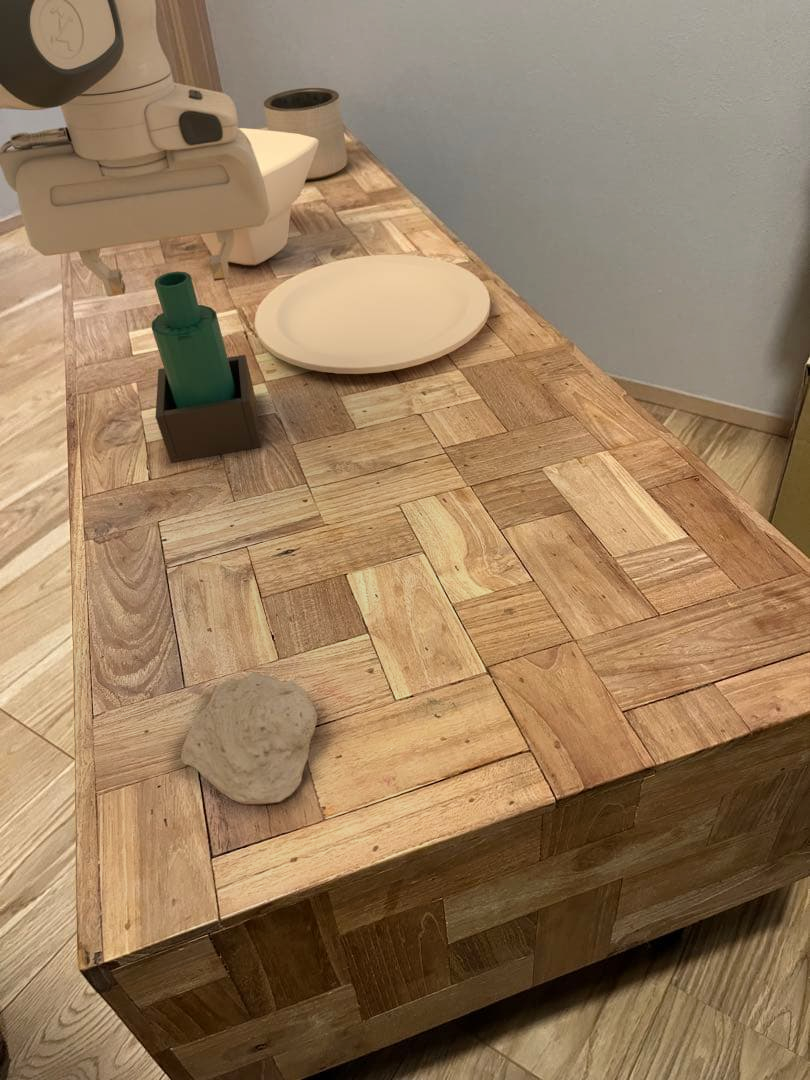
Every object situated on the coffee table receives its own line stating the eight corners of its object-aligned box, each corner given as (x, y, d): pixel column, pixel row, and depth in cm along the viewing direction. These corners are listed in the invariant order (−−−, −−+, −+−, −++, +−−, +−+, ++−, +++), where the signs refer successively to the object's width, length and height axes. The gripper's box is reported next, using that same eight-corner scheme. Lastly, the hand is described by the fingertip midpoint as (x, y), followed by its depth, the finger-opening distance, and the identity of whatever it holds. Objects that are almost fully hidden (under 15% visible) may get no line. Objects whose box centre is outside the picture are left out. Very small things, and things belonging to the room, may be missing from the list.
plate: (214, 367, 95) (209, 349, 93) (320, 262, 113) (317, 246, 112) (444, 402, 86) (443, 383, 84) (518, 282, 104) (518, 264, 103)
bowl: (266, 296, 107) (244, 186, 97) (156, 273, 115) (125, 169, 105) (344, 239, 118) (331, 136, 109) (239, 222, 126) (217, 124, 117)
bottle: (184, 447, 82) (137, 299, 72) (185, 415, 87) (140, 270, 76) (244, 437, 83) (206, 288, 72) (241, 405, 87) (205, 260, 76)
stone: (167, 679, 58) (297, 633, 57) (198, 715, 61) (322, 672, 60) (157, 802, 51) (306, 752, 50) (193, 836, 54) (335, 789, 53)
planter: (363, 165, 141) (355, 93, 133) (308, 188, 134) (297, 114, 127) (314, 152, 147) (304, 83, 140) (260, 174, 141) (246, 103, 134)
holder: (170, 462, 82) (155, 416, 78) (172, 413, 88) (158, 368, 84) (261, 447, 82) (249, 400, 79) (255, 399, 89) (245, 354, 85)
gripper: (-18, 149, 62) (48, 318, 71) (253, 114, 64) (283, 283, 73) (-4, 125, 66) (56, 287, 76) (249, 94, 68) (277, 255, 78)
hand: (169, 285), depth 74 cm, fingers open, 8 cm apart
